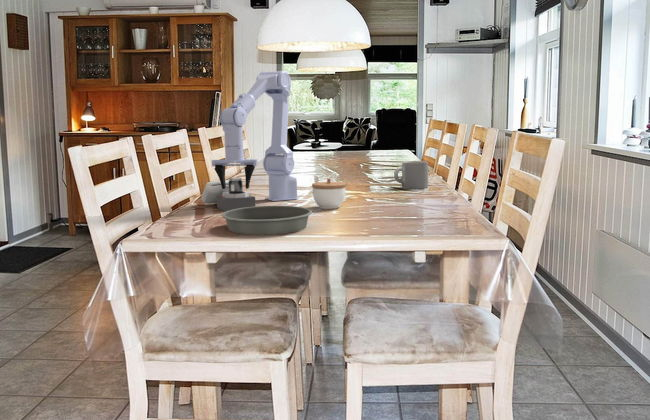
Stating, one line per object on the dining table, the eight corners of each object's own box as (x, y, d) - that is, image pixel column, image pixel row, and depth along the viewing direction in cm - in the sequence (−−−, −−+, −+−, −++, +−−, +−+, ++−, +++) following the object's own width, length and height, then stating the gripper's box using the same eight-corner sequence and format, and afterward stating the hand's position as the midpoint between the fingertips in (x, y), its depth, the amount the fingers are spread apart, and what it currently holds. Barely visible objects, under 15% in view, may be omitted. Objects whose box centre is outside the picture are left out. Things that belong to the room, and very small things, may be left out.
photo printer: (230, 191, 244) (236, 177, 232) (232, 202, 242) (238, 189, 231) (200, 193, 240) (205, 179, 229) (202, 205, 239) (207, 191, 228)
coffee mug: (424, 185, 282) (424, 160, 280) (430, 188, 272) (430, 162, 270) (391, 186, 280) (391, 161, 279) (395, 189, 271) (395, 163, 269)
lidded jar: (307, 209, 226) (307, 179, 224) (319, 204, 236) (319, 176, 234) (339, 210, 222) (339, 180, 221) (350, 205, 232) (349, 177, 231)
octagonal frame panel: (246, 205, 235) (246, 190, 235) (255, 209, 227) (255, 193, 227) (217, 208, 231) (216, 192, 230) (225, 211, 223) (224, 195, 222)
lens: (232, 195, 232) (231, 177, 231) (244, 195, 230) (244, 177, 229) (226, 197, 227) (226, 179, 226) (239, 197, 226) (238, 179, 225)
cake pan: (233, 220, 208) (233, 205, 208) (317, 220, 206) (317, 205, 205) (211, 236, 184) (211, 219, 183) (306, 236, 182) (305, 219, 181)
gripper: (208, 147, 223) (210, 190, 225) (254, 146, 222) (255, 189, 224) (213, 145, 230) (215, 187, 232) (258, 145, 229) (259, 187, 231)
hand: (235, 188), depth 228 cm, fingers open, 7 cm apart
